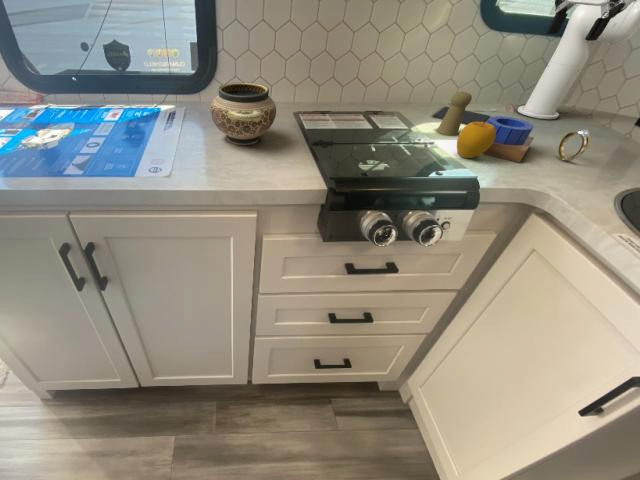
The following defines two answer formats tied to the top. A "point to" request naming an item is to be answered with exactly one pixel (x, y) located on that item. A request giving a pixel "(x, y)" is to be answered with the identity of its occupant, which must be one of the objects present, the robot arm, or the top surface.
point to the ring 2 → (584, 146)
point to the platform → (509, 150)
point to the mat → (467, 116)
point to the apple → (475, 139)
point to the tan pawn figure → (454, 114)
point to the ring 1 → (510, 130)
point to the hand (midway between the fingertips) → (570, 37)
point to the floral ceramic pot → (243, 112)
